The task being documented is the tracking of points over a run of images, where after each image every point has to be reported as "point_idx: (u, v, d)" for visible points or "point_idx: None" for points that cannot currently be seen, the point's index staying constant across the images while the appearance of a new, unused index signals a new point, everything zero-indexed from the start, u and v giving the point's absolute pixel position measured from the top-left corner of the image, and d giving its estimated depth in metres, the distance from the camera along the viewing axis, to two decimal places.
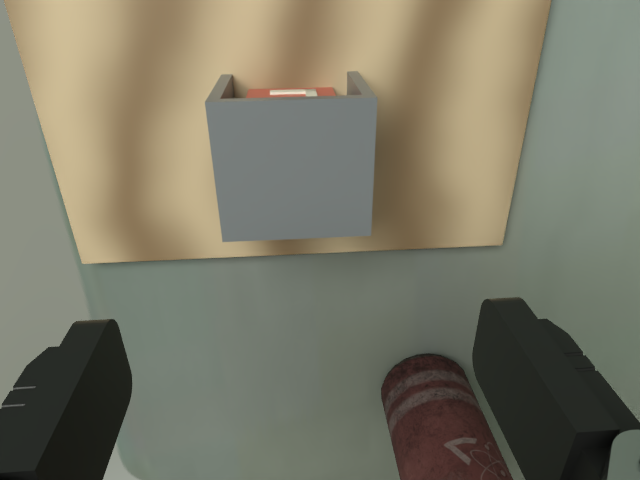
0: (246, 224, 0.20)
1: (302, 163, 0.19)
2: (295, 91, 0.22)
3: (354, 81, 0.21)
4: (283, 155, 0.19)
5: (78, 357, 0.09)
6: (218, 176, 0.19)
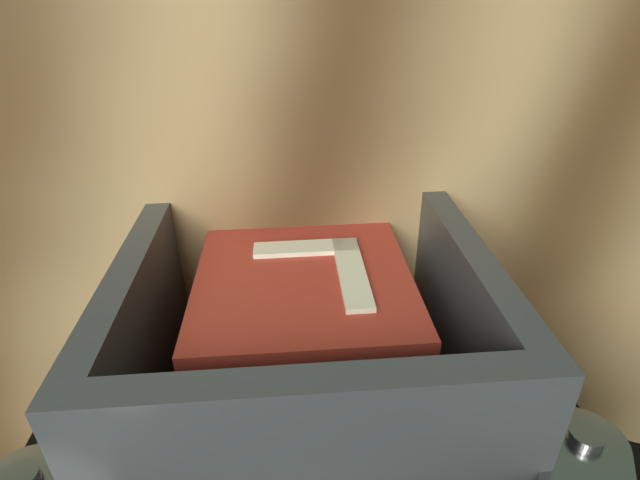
0: None
1: None
2: (311, 249, 0.10)
3: (460, 246, 0.08)
4: None
5: None
6: None
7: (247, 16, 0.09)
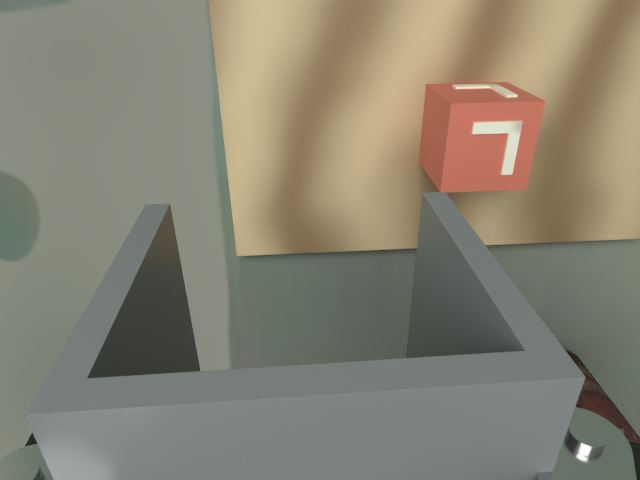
0: None
1: None
2: (479, 85, 0.22)
3: (460, 247, 0.08)
4: None
5: None
6: None
7: None
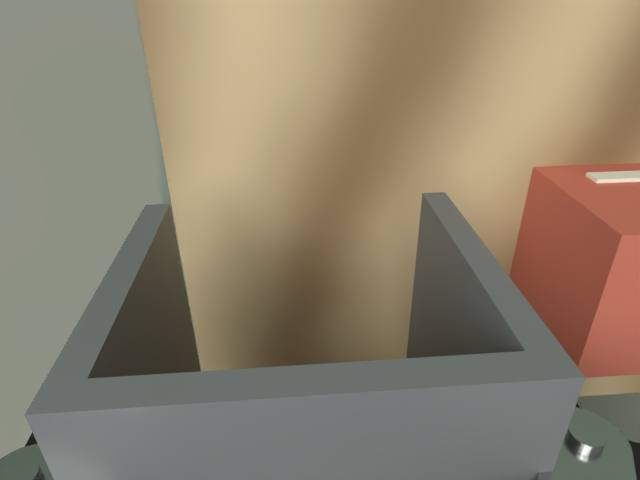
0: None
1: None
2: (638, 176, 0.12)
3: (460, 247, 0.08)
4: None
5: None
6: None
7: None
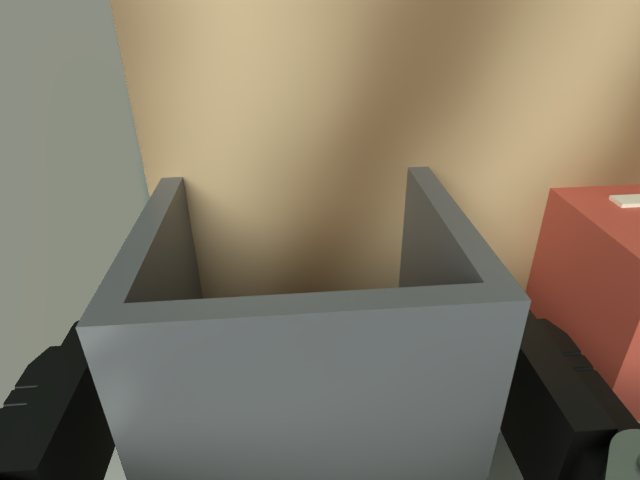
0: None
1: (332, 431, 0.08)
2: None
3: (437, 209, 0.10)
4: (287, 420, 0.08)
5: (80, 356, 0.09)
6: (132, 464, 0.08)
7: None
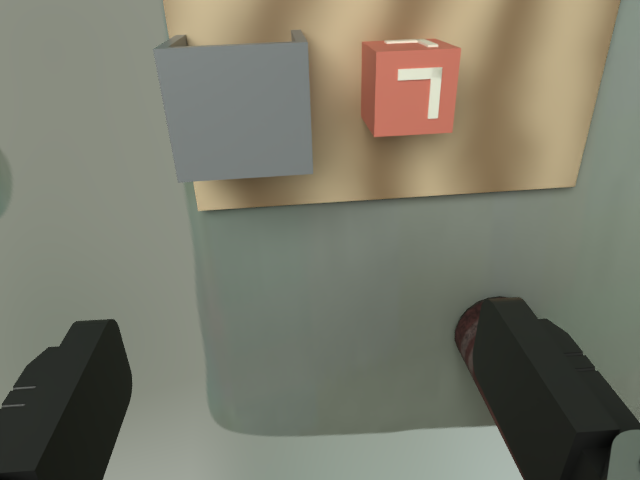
0: (198, 165, 0.22)
1: (245, 105, 0.21)
2: (408, 40, 0.25)
3: (293, 34, 0.23)
4: (227, 98, 0.21)
5: (78, 357, 0.09)
6: (170, 119, 0.21)
7: None
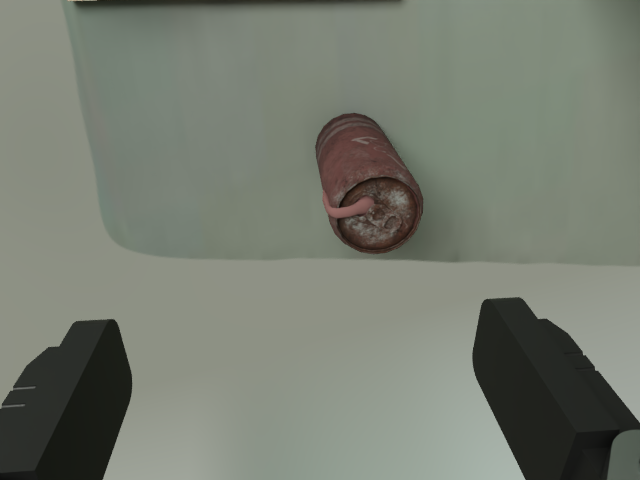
0: None
1: None
2: None
3: None
4: None
5: (78, 357, 0.09)
6: None
7: None
